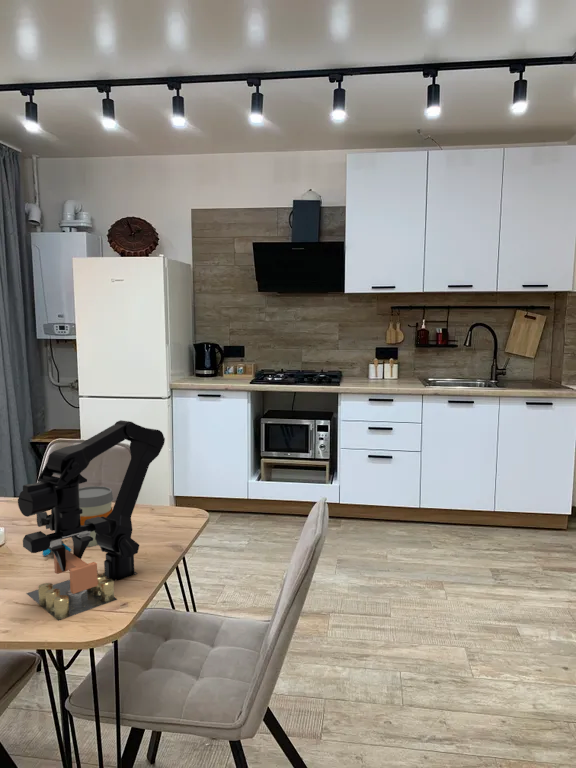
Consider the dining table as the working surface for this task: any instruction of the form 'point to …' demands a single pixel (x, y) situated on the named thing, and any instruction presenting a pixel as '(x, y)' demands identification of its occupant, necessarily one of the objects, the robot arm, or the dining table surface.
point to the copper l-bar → (78, 572)
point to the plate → (72, 607)
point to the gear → (50, 550)
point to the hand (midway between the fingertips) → (69, 569)
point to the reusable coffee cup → (95, 505)
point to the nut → (77, 597)
